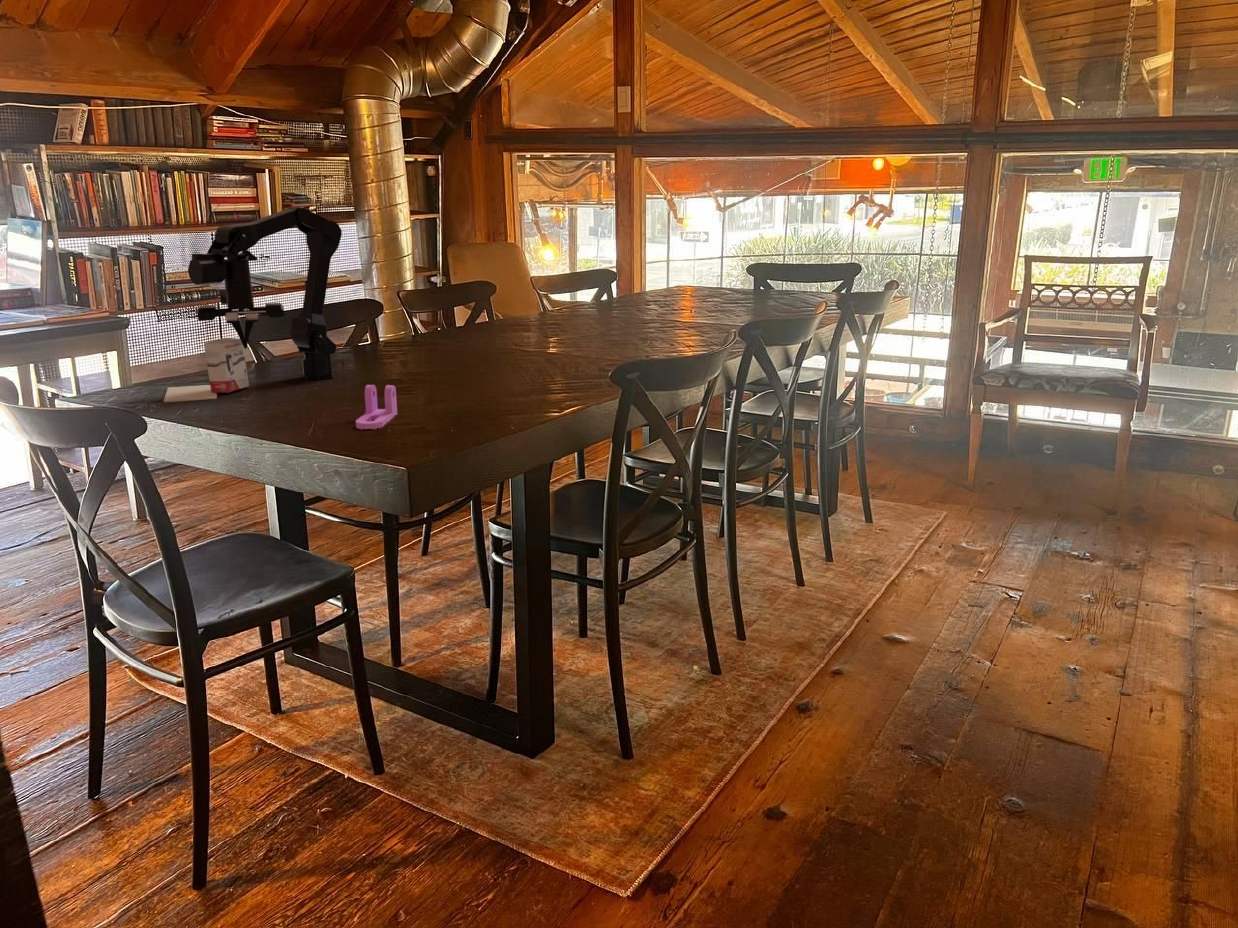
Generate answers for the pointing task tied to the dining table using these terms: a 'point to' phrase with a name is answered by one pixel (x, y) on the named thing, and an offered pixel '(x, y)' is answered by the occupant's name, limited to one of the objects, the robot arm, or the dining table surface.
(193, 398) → the mat
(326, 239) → the robot arm
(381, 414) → the bracket
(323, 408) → the dining table surface
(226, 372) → the ink box
